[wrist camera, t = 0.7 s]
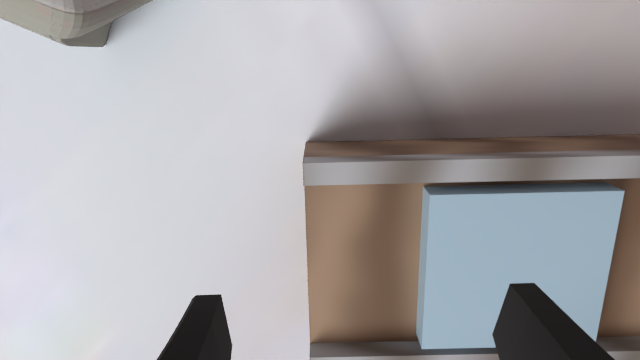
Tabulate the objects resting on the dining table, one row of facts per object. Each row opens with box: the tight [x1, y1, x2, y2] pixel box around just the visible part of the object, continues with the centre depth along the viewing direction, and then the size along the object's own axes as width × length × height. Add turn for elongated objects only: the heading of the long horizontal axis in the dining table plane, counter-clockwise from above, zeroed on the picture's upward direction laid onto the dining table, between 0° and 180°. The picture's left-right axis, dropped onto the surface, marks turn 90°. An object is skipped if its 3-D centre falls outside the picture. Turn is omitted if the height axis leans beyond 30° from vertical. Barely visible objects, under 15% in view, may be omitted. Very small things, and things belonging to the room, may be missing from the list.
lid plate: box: [416, 182, 625, 349], centre depth 24 cm, size 10×9×2 cm
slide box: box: [303, 134, 640, 360], centre depth 26 cm, size 22×13×5 cm, turn 91°
